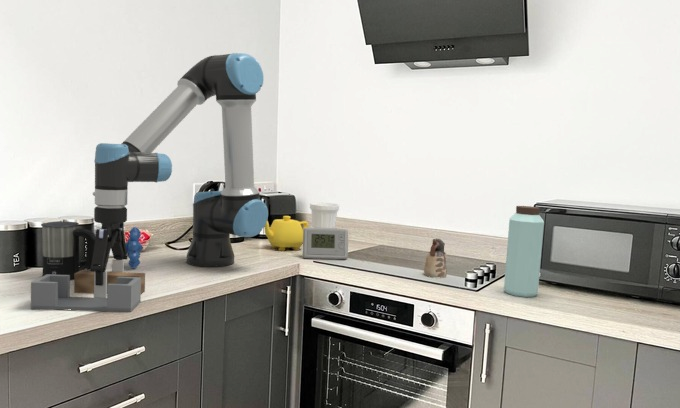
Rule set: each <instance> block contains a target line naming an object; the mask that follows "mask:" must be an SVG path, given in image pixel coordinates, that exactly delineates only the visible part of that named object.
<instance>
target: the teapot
mask: <svg viewBox="0 0 680 408" xmlns="http://www.w3.org/2000/svg"><path fill="white" fill-rule="evenodd" d="M302 225H303V226H302ZM304 228H309V222H308V221H305V220H302V221H300V220H296V219H291V216H289V215H282V218H281V219H274V220H273V221H272V223H271V225H270V224H269V221H268V220H267V222H266V225H265V227H264V233H265V236H266V238H267V240H268V242H269V244H270V245H272V246H271V248H273V249H278V251H280V252H284V251H286V248H292V250H294V251H299V250H300V248H299V247H303V230H304Z"/></svg>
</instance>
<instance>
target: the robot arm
mask: <svg viewBox="0 0 680 408" xmlns="http://www.w3.org/2000/svg"><path fill="white" fill-rule="evenodd" d="M176 84H177V87H175V89H174V90H172V91H171V93H169V95H168V96H167V97H166V98H164V100H163V101H162V102H161V103H160V104H159V105H157V107H156V108H155V109H154V110H153V111H152V112H151V113H150V114H149V115H148V116H147V117H146V118H145V119H144V120H143V121H142V122H141V123H140V124H139V125H138V126H137V127H136V128H135V130H133V131H132V132H131V133H130V134H129V135H128V136H127V138H126V139H124V141H123V142H121V143H105V142H103V143H101V142H100V143H98V144H97V145H96V147H95V152H94V153H95V154H94V160H93V161H94V191H93V192H92V195H93V196H94V204H95V207H94V208H93V210H94V211H93V213H94V214H93V221H94V222H95V223H98V224H101V228H97V229H96V230H95V236H96V240H95V246H94V252H93V258H92V263H91V268H90V269H89V271H91V272H94V293H93V298H107V271H108V270H107V266H108V261H109V257H110V253H112V256H113V259H112V263H111V265H112V266H111V267H112V269H111V272H125V270H124V269H125V265H124V264H125V261H124V260H128V259H129V258H128V255H127V254H128V253H127V251H126V244H125V242H126V237H125V232H124V231H125V229H124V228H125V224H124V223H126V222H127V221H128V208H127V207H126V206H127V205H128V190H129V189H128V188H129V187H128V185H129V183H159V182H160V183H161V182H162V183H163V182H167V181H168V180H169V178H170V177H171V176H172V172H173V164H172V161H171V158H170V156H169V155H167V154H165V153H161V152H160V153H158V152H154V151H155V150H156V149H157V147H158V146H160V145H161V144H162V143H163V141H165V139H166V138H167V137H168V136H169V135H170V134H171V133H172V131H174V130H175V128H176V127H177V126H178V125H179V124H180V123H181V122H182V121H184V119H185V118H186V117H187V116H188V115H189V114H190V113H191V111H193V110H194V109H195V107H196V106H198V105H199V106H200V105H203V104H205V102H206V101H207V100H208V99H210V98H212V97H215V100H216V103H217V104H219V106H220V107H221V117H222V118H221V121H222V141H223V161H224V162H223V163H224V181H225V183H224V184H225V186H224V188H223V189H222V190H216V191H215V190H213V191H198V192H196V193H194V196H193V203H192V210H193V212H192V239H191V243H190V245H189V247H188V250H187V253H186V257H185V258H186V262H185V263H187V264H188V265H191V266H195V267H208V268H209V267H211V268H213V267H225V266H231V265H234V264H235V253H234V249H233V246H232V242H231V238H230V237H231V235H233V236H236V237H240V238H244V237H245V238H252V237H253V238H254V237H255V236H257V235H259V234H260V233H261V232H262V230H263V229H265V225H266V222H267V221H268V217H269V209H268V207H267V205H266V204H265V202H264V201H263V200H261V198H260V190H259V189H258V188H257V187H255V177H254V176H255V175H254V173H255V172H254V153H253V152H254V146H253V144H254V143H253V123H252V122H253V121H252V120H253V119H252V107H253V105H254V104H255V102H256V101H257V94H258V93H259V92H260V90H261V87H263V85H264V71H263V69H262V67H261V65H260V63H259V62H258V61H257V59H256V58H255V57H254V56H253V55H250V54H249V53H238V52H236V53H235V52H234V53H233V52H232V53H227V54H226V53H225V54H219V55H218V54H215V55H209V56H207V57H204V58H202V59H201V60H200V61H198V62H197V63H196V64H194V65H193V66H192V67H191V68H189V70H187V71H186V72H185V74H183V75H182V76H181V78H180V79H179V80H177V83H176Z"/></svg>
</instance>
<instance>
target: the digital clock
mask: <svg viewBox="0 0 680 408" xmlns="http://www.w3.org/2000/svg"><path fill="white" fill-rule="evenodd" d="M302 257H303V258H304V259H310V260H311V259H312V260H325V261H326V260H327V261H329V260H330V261H331V260H332V261H339V260H348V258H349V231H348V229H346V228H336V227H335V228H312V227H308V228H304V230H303V244H302Z"/></svg>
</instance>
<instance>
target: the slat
mask: <svg viewBox="0 0 680 408" xmlns="http://www.w3.org/2000/svg"><path fill="white" fill-rule="evenodd" d="M106 271H107V285H108V284H117V277H141V295H143V293H145V292H146V272H134V271H133V272H131V271H124V272H112V270H111V271H108V270H106ZM73 280H74V281H73V282H74V283H73V284H74V285H73V286H74V287H73V289H74V290H73V292H74V293H75V294H77V293H78V294H94V272H91V271H90V270H88V269H87V270H86V269H84V270H81V271H79V272H77V273H75V274H74V279H73Z"/></svg>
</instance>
